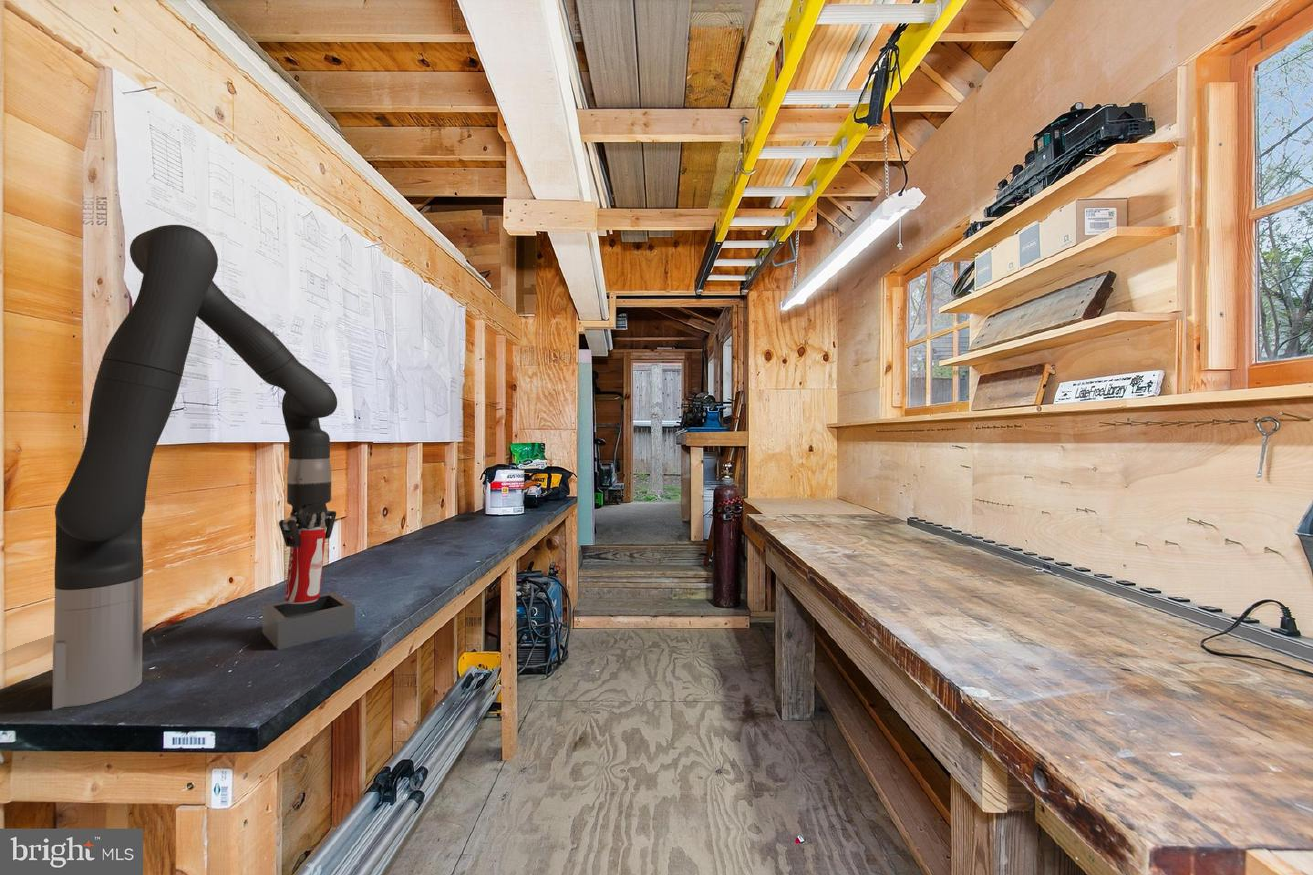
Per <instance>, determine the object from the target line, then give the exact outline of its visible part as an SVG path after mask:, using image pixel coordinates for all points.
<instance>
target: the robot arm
mask: <svg viewBox="0 0 1313 875" xmlns="http://www.w3.org/2000/svg"><path fill="white" fill-rule="evenodd" d="M129 255H130V258H131V261H132V263H133V264H134V266H135V268H137V270H138V271H139V272H140V273H141V274H143V275H142V279H141V284H140V289H139V291H138V294H137V298H136V299H135V302H134V304H133V306H132V307H131V309H130V311H129V312H128V313H127V315H126V316H125V317H124V319H123V321H122V322H121V324H119V326H118V328H117V329H116V331H115V332H114V334H113V336H112V337H111V339H110V340H109V343H108V344H107V346H106V348H105V351H104V352H103V356H102V358H101V361H100V364H99V367H98V371H97V373H96V377H95V380H94V383H93V389H92V395H91V398H90V404H89V406H90V407H89V413H88V423H87V433H86V439H85V444H84V447H83V451H82V453H81V455H80V459H79V460H78V463H77V465H76V468H75V469H74V472H73V474H72V476H71V479H70V481H69V483H68V484H67V487H66V489H65V490H64V492H63V493H62V494H61V495H60V497H59V498H58V500H57V502H56V505H55V509H54V517H55V556H54V612H53V613H54V615H53V616H54V618H53V620H54V624H53V625H54V626H53V627H54V628H53V644H52V697H51V699H52V702H51V703H52V706H51V707H52V711H53V710H58V709H62V708H67V707H69V708H70V707H79V706H86V705H89V704H95V703H98V702H103V701H106V700H110V699H112V698H116V697H118V696H120V695H121V696H122V695H124V694H126V693H128V692H130V691H132V690H135V689H136V688H137V687H139V686H140V685H141V684H142V682H143V625H144V624H143V618H144V617H143V614H144V611H143V610H144V608H143V607H144V602H143V600H144V599H143V598H144V555H143V554H144V553H143V516H144V514H145V510H146V498H147V489H148V483H149V482H148V481H149V474H150V471H151V470H150V469H151V464H152V459H153V456H154V452H155V449H156V448H157V447H156V446H157V444H158V442H159V440H160V438H161V436H162V433H163V432H164V429H165V427H166V424H167V423H168V420H169V418H170V415H171V413H172V410H173V407H174V405H175V402H176V399H177V396H178V393H179V389H180V385H181V382H182V379H183V374H184V370H185V365H186V361H187V357H188V354H189V351H190V347H191V342H192V338H193V333H194V329H195V324H196V320H197V318H198V319H199V320H200V321H202V322H203V323H204V324H205V325H206V326H207V327H208V328H209V329H211V330H212V331H213V332H214V333H215V334H217V336H218V337H219V338H220V339H222V340H223V341H224V342H225V343H226V344H227V345H228V346H229V347H230V348H231V349H232V350H233V352H235V353H236V355H238V356H239V358H241V359H242V361H243V362H244V363H246V365H247V366H248V367H249V368H250V369H251V370H252V371H254V372H255V374H256V375H257V376H258V377H259V378H261V380H263V381H264V382H265V383H266V384H268V385H270V386H273V387H274V386H275V387H277V388H280V389H281V390H283V391H284V395H283V397H282V400H281V411H282V416H283V421H284V424H285V428H286V432H287V434H288V435H287V436H288V438H289V442H288V463H287V464H288V465H287V472H286V473H287V474H286V475H287V476H286V480H287V481H286V482H287V484H286V485H287V486H286V503H287V504H288V505H290V506H291V507H292V508H291V510H290V511H291V512H290V515H289V517H288V518H286V519H281V520H279V521H278V525H279V526H278V527H279V528H280V531H281V534H282V538H283V541H284V544H285V547H288V548H289V547H300V545H301V542H300V540H301V537H300V534H299V531H298V529H301V528H304V529H306V528H307V529H313V528H316V527H324V531H325V533H326V535H325V540H327V539H330V538H331V536H332V532H333V528H334V525H335V521H336V518H337V517H336V516H337V511H336V510H328V507H327V504H328V503H330V502H331V501H332V465H331V464H332V463H331V459H330V458H331V438H330V435H329V433H328V432H326V431H324V430H322V428H321V425H320V418H321V419H323V418H327V417H329V416H331V415H332V414H334V413H335V412H336V410H337V408H338V407H337V406H338V398H337V396H336V393H335V392H334V390H333V388H332V387H331V386H330V385H329V384H328V383H327V382H326V381H325V380H324V379H323V378H321V377H320V376H319V375H318V374H316V373H315V372H314V371H312V370H311V369H310V368H308V367H307V366H305V365H304V364H302V363H301V362H300V361H299V360H298V359H297V358H296V356H295V355H294V354H293V353H292V352H291V351H290V350H289V349H288V348H287V346H286V345H285V344H284V343H283V341H281V340H280V339H279V338H278V336H276V335H275V334H274V333H273V332H272V331H271V330H269V328H267V327H265V325H264V324H262V323H261V322H259V321H258V320H257V319H256V318H254V317H253V316H252V315H250V314H249V313H247V312H246V311H245V310H243V309H242V308H241V307H240V306H238V305H237V304H236V303H235V302H234V301H232V300H231V299H230V298H229V297H228V296H227V295H226V294H225V293H224V292H223V291H222V290H221V289H220V288H219V287H218V285H217V284H216V283H215V281H214V278H215V276H216V273H217V270H218V267H219V264H218V263H219V258H218V253H217V251H216V248H215V246H214V244H213V243H212V242H211V240H210V239H209V237H207V235H205V234H204V233H203V232H201V231H200V230H198V229H196V228H193V227H191V226H188V225H184V224H183V225H182V224H167V225H160V226H158V227H154V228H152V229H149V230H147V231H144V232H142V233H140V234H138V235H136V237H135V238H134V239H133V240H132V241H131V243H130V246H129ZM291 537H292V538H293V539H294V541H292V539H291Z"/></svg>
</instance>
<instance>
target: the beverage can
mask: <svg viewBox="0 0 1313 875" xmlns="http://www.w3.org/2000/svg"><path fill="white" fill-rule="evenodd" d="M298 531H299V534H300V537H301V540H300V542H301V545H300V547H290V548H289V557H288V565H287V577H286V578H287V579H286V586H285V587H286V588H285V596H284V602H287V603H289V604H306V603H311V602H315V601H317V600H318V598H319V597H320V595H321V587H322V585H321V584H322V575H323V565H324V553H325V544H326V539H325V535H326V531H324V527H316V528H313V529H307V528H306V529H304V528H301V529H298ZM291 539H292V541H294V539H293V538H292V537H291Z"/></svg>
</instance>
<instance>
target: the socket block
mask: <svg viewBox="0 0 1313 875" xmlns="http://www.w3.org/2000/svg"><path fill="white" fill-rule="evenodd" d="M261 613H262V616H261V617H262V618H261V620H262V621H261V622H262V623H261V626H262V627H261V628H262V629H261V633H262V634H263V635H264V637H265V638H266V639H267V640H268V641H269V642H270V643H271V645H273V647H275V649H276V650H277V651H280V650H283V649H284V650H285V649H287V648H291V647H295V646H300V645H304V644H308V643H312V642H317V641H321V640H324V639H328V638H329V639H330V638H333V637H337V636H340V635H345V634H349V633H352V632H351V631H353V632H355V630H356V629H355V627H356V625H355V623H356V622H355V621H356V619H355V617H356V604H354V603H352V602H351V601H349V600H348V599H346V598H344V597H343V596H341V594H338V593H336V592H333V591H332V592H328V593H325V594H320V597H319V598H318V600H317V601H315V602H311V603H306V604H289V603H287V602H286V601H284V602H278V603H272V604H268V605H267V604H266V605H263V606H262V611H261ZM348 632H349V633H348ZM344 633H345V634H344Z"/></svg>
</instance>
